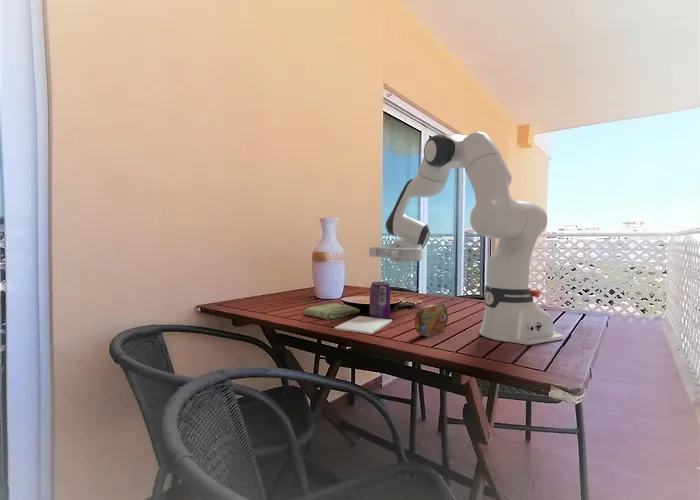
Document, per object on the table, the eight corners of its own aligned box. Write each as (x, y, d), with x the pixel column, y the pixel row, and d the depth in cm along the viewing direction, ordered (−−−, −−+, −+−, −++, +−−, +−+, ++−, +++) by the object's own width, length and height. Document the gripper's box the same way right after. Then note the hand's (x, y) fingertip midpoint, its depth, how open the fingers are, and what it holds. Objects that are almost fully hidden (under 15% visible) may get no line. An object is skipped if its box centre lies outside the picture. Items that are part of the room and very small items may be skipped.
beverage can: (393, 316, 131) (394, 282, 131) (384, 320, 125) (384, 284, 125) (375, 314, 135) (376, 281, 135) (365, 317, 129) (366, 283, 129)
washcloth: (361, 313, 137) (361, 305, 137) (328, 321, 124) (328, 312, 124) (335, 309, 146) (335, 300, 146) (301, 316, 132) (301, 306, 132)
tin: (422, 339, 103) (422, 309, 103) (412, 337, 105) (413, 307, 105) (448, 330, 114) (449, 302, 114) (439, 328, 117) (439, 301, 116)
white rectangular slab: (358, 317, 129) (358, 316, 129) (392, 321, 124) (392, 319, 124) (334, 329, 113) (334, 327, 113) (371, 334, 108) (371, 332, 108)
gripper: (376, 243, 153) (362, 243, 141) (425, 244, 145) (416, 245, 132) (375, 258, 154) (362, 260, 141) (425, 261, 145) (415, 263, 132)
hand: (388, 253), depth 137 cm, fingers closed
